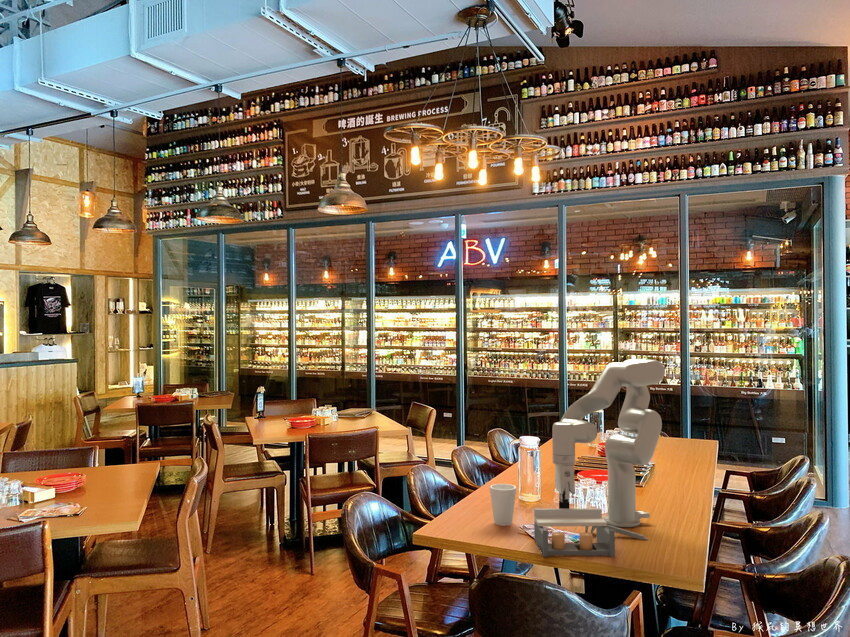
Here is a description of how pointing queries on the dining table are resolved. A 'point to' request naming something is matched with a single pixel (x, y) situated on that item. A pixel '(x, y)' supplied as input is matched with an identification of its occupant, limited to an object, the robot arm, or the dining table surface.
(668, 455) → the dining table surface
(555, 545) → the housing
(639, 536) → the caliper
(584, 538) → the peg
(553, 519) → the lid
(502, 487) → the foam cup
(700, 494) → the dining table surface
